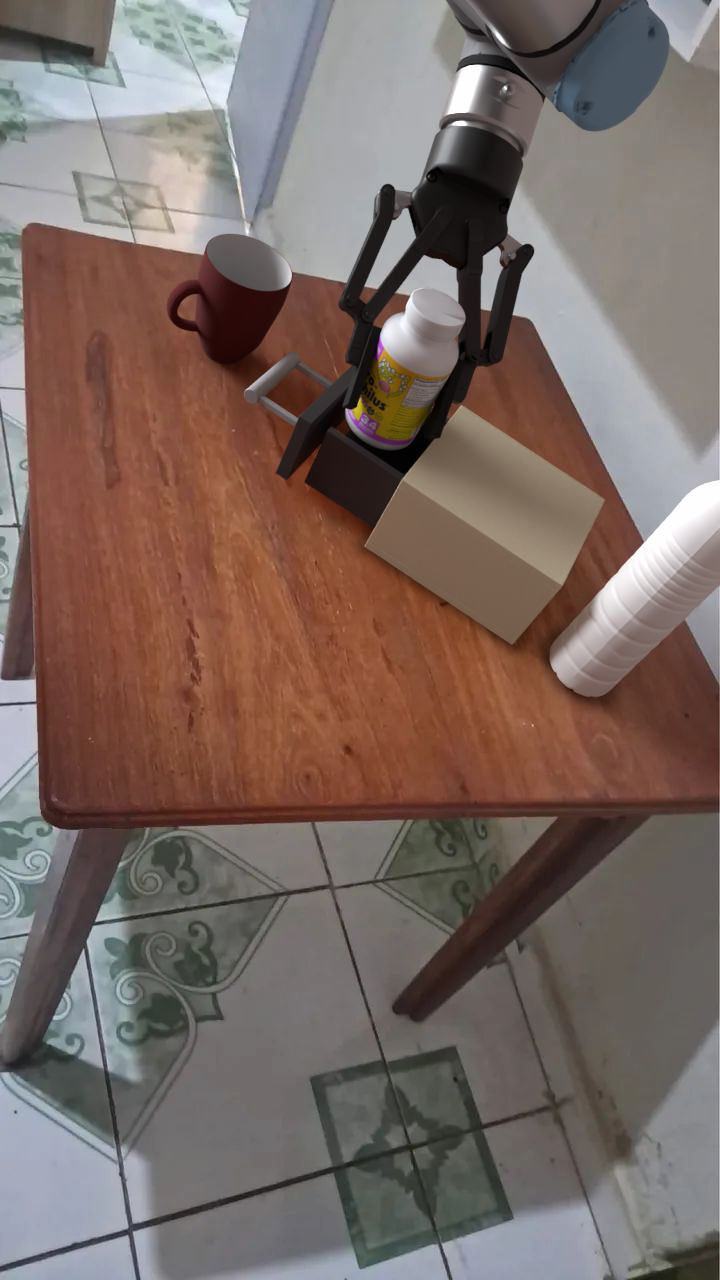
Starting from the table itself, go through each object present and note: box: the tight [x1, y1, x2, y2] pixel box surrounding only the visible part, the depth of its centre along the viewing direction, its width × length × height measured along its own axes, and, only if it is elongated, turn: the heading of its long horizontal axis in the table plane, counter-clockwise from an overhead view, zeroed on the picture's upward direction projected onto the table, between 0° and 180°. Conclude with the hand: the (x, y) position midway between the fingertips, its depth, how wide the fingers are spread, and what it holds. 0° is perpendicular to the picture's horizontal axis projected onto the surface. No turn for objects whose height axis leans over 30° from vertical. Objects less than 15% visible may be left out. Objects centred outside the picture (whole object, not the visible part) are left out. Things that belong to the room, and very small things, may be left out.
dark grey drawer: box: [243, 351, 451, 529], centre depth 85 cm, size 20×12×7 cm, turn 63°
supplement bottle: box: [345, 287, 466, 451], centre depth 79 cm, size 7×7×13 cm
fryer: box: [364, 404, 606, 646], centre depth 85 cm, size 16×14×9 cm
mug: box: [166, 233, 294, 365], centre depth 88 cm, size 10×8×10 cm
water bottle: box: [549, 479, 720, 698], centre depth 75 cm, size 9×6×25 cm
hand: (391, 421), depth 79 cm, fingers closed on supplement bottle, 7 cm apart
